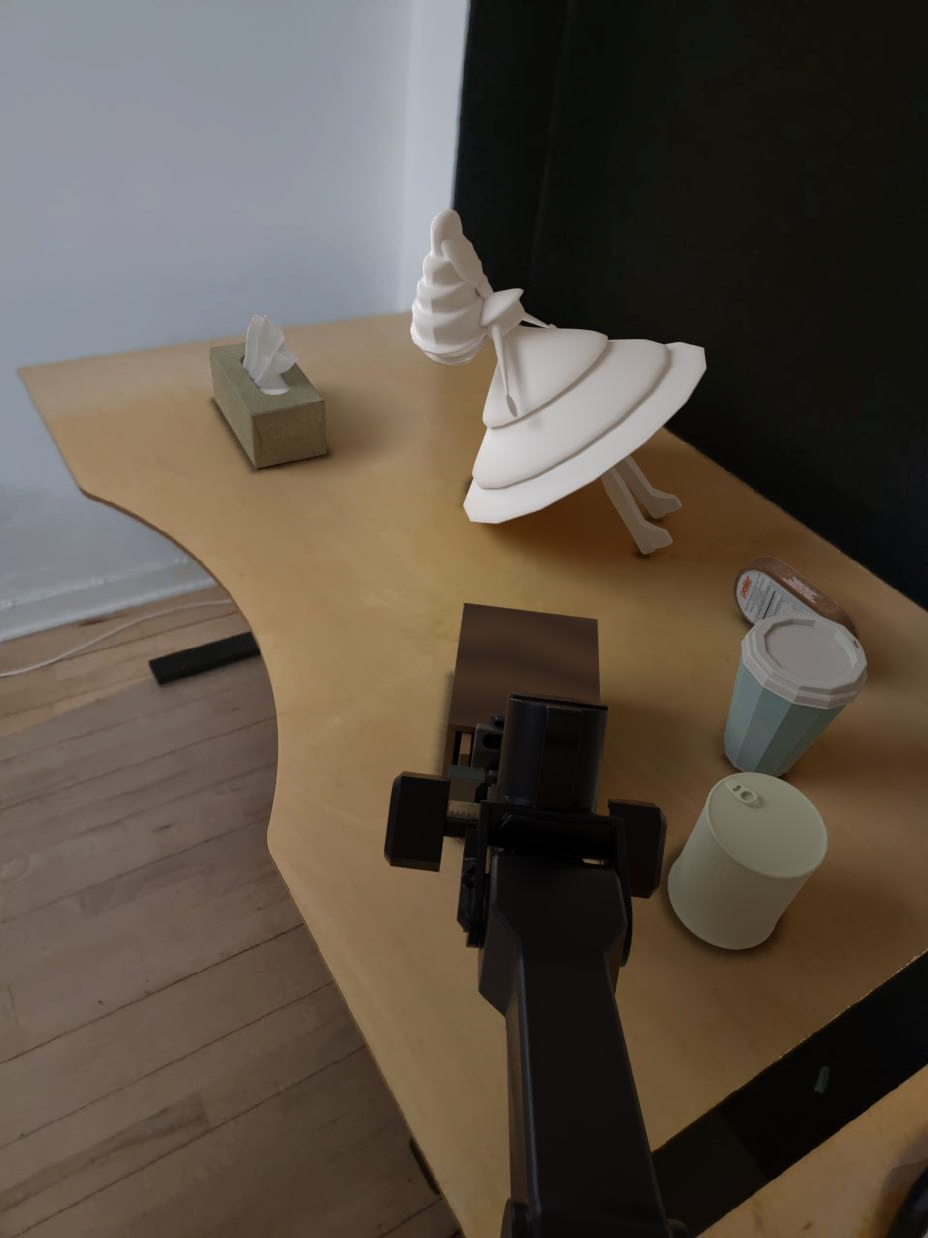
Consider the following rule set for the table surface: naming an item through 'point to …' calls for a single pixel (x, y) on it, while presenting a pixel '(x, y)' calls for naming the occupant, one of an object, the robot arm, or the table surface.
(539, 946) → the robot arm
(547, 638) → the cabinet
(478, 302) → the figurine
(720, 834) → the can
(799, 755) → the disposable coffee cup
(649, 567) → the table surface
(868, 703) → the table surface
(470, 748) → the drawer
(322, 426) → the tissue box
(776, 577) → the tin
